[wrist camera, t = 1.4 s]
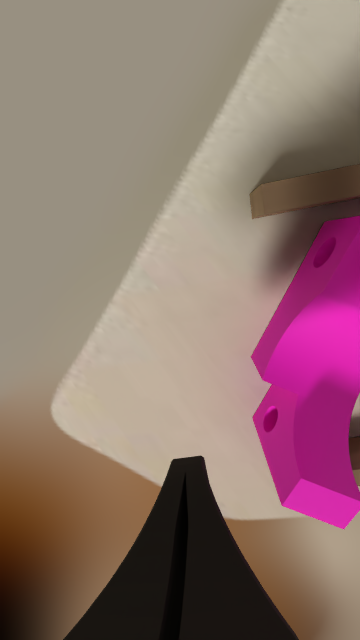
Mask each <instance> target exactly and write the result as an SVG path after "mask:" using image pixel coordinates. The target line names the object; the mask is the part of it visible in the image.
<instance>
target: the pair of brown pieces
mask: <svg viewBox="0 0 360 640" xmlns="http://www.w3.org/2000/svg"><path fill="white" fill-rule="evenodd" d="M356 198H360V164H357V165H352V166H347V167H342V168H337V169H333V170H328V171H323V172H318V173H313V174H308V175H303V176H299V177H294V178H289V179H284V180H279V181H274V182H270V183H265V184H261V185H260V186H259V187H258V188H256V189H255V190H254V191H253V192H252V193H251V194H250V202H251V211H252V219H254V218H259V217H264V216H270V215H275V214H280V213H285V212H290V211H295V210H300V209H305V208H310V207H316V206H321V205H326V204H331V203H336V202H341V201H346V200H351V199H356ZM348 443H349V456H350V462H351V467H352V471H353V475H354V478H355V481H356V484H357V486H360V437H353V438H349V440H348Z"/></svg>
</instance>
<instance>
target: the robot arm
mask: <svg viewBox="0 0 360 640" xmlns="http://www.w3.org/2000/svg"><path fill="white" fill-rule="evenodd" d="M63 640H299V639H298V637H297V636H296V634H295V633H294V631H293V630H292V629H291V627H290V626H289V625H288V623H287V622H286V620H285V619H284V618H283V616H282V615H281V613H280V612H279V611H278V609H277V608H276V606H275V605H274V604H273V602H272V600H271V599H270V598H269V596H268V594H267V593H266V592H265V590H264V589H263V587H262V585H261V584H260V582H259V581H258V579H257V577H256V576H255V574H254V573H253V571H252V570H251V568H250V566H249V564H248V563H247V561H246V560H245V558H244V556H243V555H242V553H241V551H240V549H239V547H238V545H237V544H236V542H235V540H234V538H233V536H232V534H231V532H230V530H229V528H228V526H227V525H226V522H225V520H224V518H223V516H222V514H221V512H220V509H219V507H218V505H217V502H216V500H215V497H214V495H213V492H212V489H211V487H210V484H209V480H208V475H207V470H206V465H205V460H204V457H202V456H195V457H187V458H179V459H173V460H172V462H171V465H170V468H169V470H168V473H167V476H166V478H165V481H164V483H163V486H162V488H161V491H160V493H159V495H158V498H157V500H156V502H155V504H154V506H153V509H152V511H151V513H150V514H149V516H148V518H147V520H146V523H145V524H144V526H143V528H142V530H141V532H140V534H139V536H138V537H137V539H136V541H135V542H134V544H133V546H132V547H131V549H130V551H129V552H128V554H127V556H126V557H125V559H124V560H123V562H122V563H121V565H120V566H119V568H118V569H117V571H116V573H115V574H114V575H113V577H112V578H111V580H110V581H109V583H108V584H107V585H106V587H105V588H104V589H103V591H102V592H101V593H100V595H99V596H98V597H97V599H96V600H95V601H94V602H93V604H92V605H91V606H90V608H89V609H88V611H87V612H86V613H85V614H84V615H83V617H82V618H81V619H80V620H79V622H78V623H77V624H76V625H75V626H74V627H73V629H72V630H71V631H70V632H69V633H68V635H67V636H66V637H65V638H64V639H63Z"/></svg>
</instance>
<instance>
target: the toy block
mask: <svg viewBox="0 0 360 640" xmlns="http://www.w3.org/2000/svg"><path fill="white" fill-rule="evenodd" d="M251 358H252V360H253V362H254V364H255V366H256V368H257V370H258V372H259V374H260V376H261V378H262V380H264V381H266V382H268V383H271V384H272V385H271V387H270V389H269V390H268V392H267V394H266V396H265V397H264V399H263V401H262V402H261V404H260V406H259V407H258V409H257V411H256V413H255V414H254V416H253V421H254V424H255V427H256V430H257V433H258V436H259V439H260V442H261V445H262V448H263V451H264V454H265V457H266V460H267V463H268V466H269V469H270V472H271V475H272V478H273V481H274V484H275V487H276V490H277V493H278V496H279V499H280V502H281V505H282V506H284V507H287V508H289V509H292V510H295V511H297V512H300V513H302V514H305V515H308V516H310V517H313V518H316V519H318V520H321V521H324V522H326V523H329V524H331V525H334V526H336V527H339V528H342V529H344V528H345V527H346V526H347V525H348V524H349V522H350V521H351V520H352V519H353V518H354V516H355V515H356V514H357V513H358V512H359V510H360V491H359V489H358V486H357V484H356V481H355V478H354V475H353V471H352V467H351V462H350V456H349V443H348V440H349V425H350V420H351V415H352V411H353V407H354V405H355V402H356V399H357V397H358V395H359V393H360V216H355V217H349V218H343V219H337V220H331V221H325V222H324V224H323V226H322V227H321V229H320V231H319V233H318V235H317V237H316V238H315V240H314V242H313V244H312V246H311V248H310V249H309V251H308V253H307V255H306V257H305V259H304V260H303V262H302V264H301V266H300V268H299V270H298V271H297V273H296V275H295V277H294V279H293V281H292V283H291V284H290V286H289V288H288V290H287V292H286V294H285V295H284V297H283V299H282V301H281V303H280V305H279V306H278V308H277V310H276V312H275V314H274V316H273V317H272V319H271V321H270V323H269V325H268V327H267V328H266V330H265V332H264V334H263V336H262V338H261V339H260V341H259V343H258V345H257V347H256V349H255V350H254V352H253V354H252V356H251Z"/></svg>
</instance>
